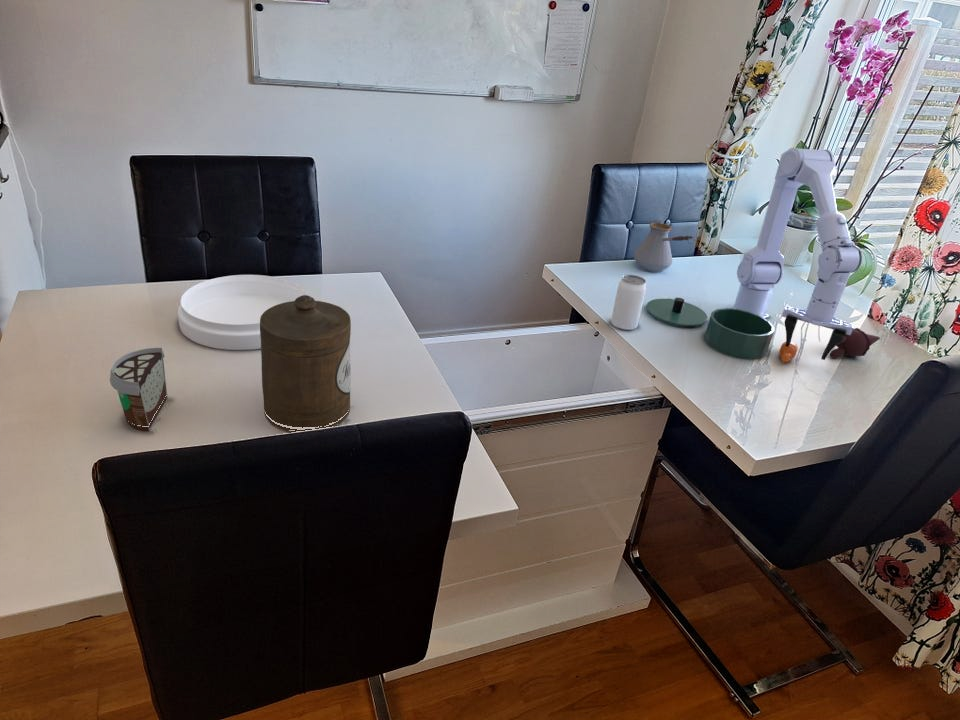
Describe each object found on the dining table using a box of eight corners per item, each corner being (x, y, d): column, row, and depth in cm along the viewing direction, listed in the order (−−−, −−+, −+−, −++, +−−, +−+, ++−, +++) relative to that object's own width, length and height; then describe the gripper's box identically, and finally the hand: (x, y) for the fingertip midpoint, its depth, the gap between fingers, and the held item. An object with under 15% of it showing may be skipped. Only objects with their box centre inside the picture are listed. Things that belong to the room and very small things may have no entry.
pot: (721, 325, 169) (728, 303, 166) (776, 347, 160) (784, 325, 157) (693, 340, 159) (699, 317, 156) (749, 365, 151) (757, 341, 148)
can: (637, 332, 160) (648, 286, 154) (609, 328, 160) (619, 282, 155) (636, 321, 165) (647, 276, 159) (610, 317, 166) (620, 272, 160)
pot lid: (665, 297, 181) (669, 282, 178) (717, 318, 172) (721, 303, 169) (633, 311, 171) (637, 295, 168) (686, 334, 162) (691, 318, 159)
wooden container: (363, 421, 117) (365, 308, 106) (280, 443, 110) (273, 323, 99) (331, 380, 128) (330, 274, 117) (253, 398, 120) (244, 285, 109)
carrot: (798, 351, 158) (782, 350, 160) (799, 337, 157) (782, 336, 159) (793, 367, 151) (776, 365, 153) (794, 352, 150) (776, 351, 152)
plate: (296, 290, 161) (295, 269, 159) (324, 341, 141) (323, 318, 138) (174, 301, 150) (171, 278, 147) (185, 358, 129) (182, 333, 127)
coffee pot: (624, 260, 203) (635, 212, 196) (657, 259, 207) (668, 212, 199) (662, 289, 186) (675, 237, 178) (696, 287, 189) (711, 237, 182)
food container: (133, 394, 117) (124, 344, 113) (170, 395, 118) (163, 346, 113) (106, 436, 107) (94, 382, 102) (146, 437, 108) (137, 384, 103)
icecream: (867, 320, 164) (819, 329, 159) (894, 327, 157) (845, 336, 153) (864, 347, 166) (817, 357, 161) (891, 355, 159) (842, 365, 155)
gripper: (788, 294, 147) (769, 349, 153) (860, 313, 141) (837, 369, 147) (792, 285, 152) (774, 338, 159) (862, 303, 146) (840, 357, 153)
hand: (805, 352), depth 153 cm, fingers open, 7 cm apart
